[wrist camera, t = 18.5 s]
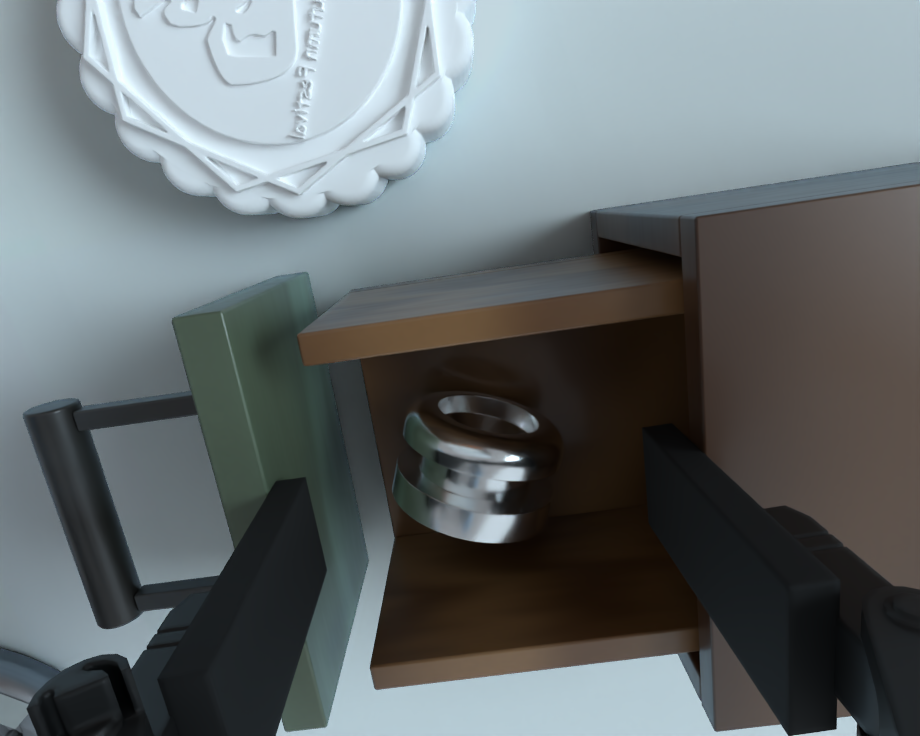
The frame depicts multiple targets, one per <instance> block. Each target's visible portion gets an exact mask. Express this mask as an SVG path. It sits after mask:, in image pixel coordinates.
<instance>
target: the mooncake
mask: <svg viewBox="0 0 920 736" xmlns="http://www.w3.org/2000/svg"><path fill="white" fill-rule="evenodd" d="M475 11H476V0H58V1H57V7H56V16H57V21H58V25H59V28H60V30H61V32H62V34H63V36H64V38H65V39H66V40H67V42H68V43H69V44H70V45H71V46H72V47H73V48H74V49H75V50H76V51H78V52H79V53H80V54H82V56H81V59H80V64H79V75H80V80H81V84H82V86H83V89H84V91H85V92H86V94H87V95H88V97H89V98H90V99H91V101H92V102H93V103H94V104H95V105H97V106H98V107H99V108H100V109H102V110H104V111H106V112H108V113H110V114H113V115H115V126H116V130H117V133H118V135H119V138H120V140H121V141H122V143H123V144H124V145H125V147H126V148H127V149H128V150H129V151H130V152H131V153H133V154H134V155H135V156H137V157H139V158H141V159H143V160H146V161H150V162H155V163H161V166H162V169H163V171H164V173H165V175H166V177H167V178H168V180H169V181H170V182H171V183H172V184H173V185H174V186H175V187H176V188H178V189H179V190H181V191H182V192H184V193H187V194H190V195H193V196H211V197H217V198H218V200H219V201H220V202H221V203H222V204H223V205H224V206H225V207H226V208H228V209H229V210H231V211H233V212H235V213H238V214H242V215H262V214H277V213H281V214H283V215H285V216H288V217H292V218H310V217H320V216H325V215H327V214H330V213H331V212H333V211H334V210H335V209H337V208H338V206H339V205H365V204H368V203H371V202H373V201H375V200H376V199H377V198H379V197H380V196H381V194H382V193H383V192H384V190H385V188H386V185H387V182H388V180H389V179H390V180H402V179H405V178H408V177H410V176H412V175H413V174H414V173H416V172H417V170H418V169H419V168H420V167H421V165H422V163H423V161H424V159H425V154H426V143H430V142H434V141H436V140H438V139H440V138H441V137H443V136H444V135H445V134H446V133H447V132H448V130H449V129H450V127H451V125H452V123H453V120H454V116H455V95H454V93H456V92H458V91H459V90H460V89H461V88H462V87H463V86H464V85H465V84H466V82H467V80H468V78H469V76H470V73H471V70H472V62H473V52H474V36H473V31H472V28H471V26H472V24H473V21H474V18H475Z"/></svg>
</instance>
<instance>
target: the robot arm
mask: <svg viewBox="0 0 920 736" xmlns="http://www.w3.org/2000/svg"><path fill="white" fill-rule="evenodd" d="M642 435H643V450H644V464H645V479H646V494H647V508H648V523H649V525H650V526H651V528H652V529H653V531H654V532H655V534H656V536H657V537H658V539H659V540H660V542H661V543H662V545H663V546H664V548H665V549H666V551H667V552H668V554H669V555H670V557H671V558H672V560H673V561H674V563H675V564H676V566H677V567H678V569H679V570H680V572H681V573H682V575H683V576H684V578H685V579H686V581H687V583H688V584H689V586H690V587H691V589H692V590H693V592H694V593H695V595H696V596H697V598H698V599H699V601H700V602H701V604H702V605H703V607H704V608H705V610H706V611H707V613H708V614H709V616H710V617H711V619H712V620H713V622H714V623H715V625H716V627H717V628H718V630H719V631H720V633H721V634H722V636H723V637H724V639H725V640H726V642H727V643H728V645H729V646H730V648H731V649H732V651H733V652H734V654H735V655H736V657H737V658H738V660H739V661H740V663H741V664H742V666H743V667H744V669H745V670H746V672H747V674H748V675H749V677H750V678H751V680H752V681H753V683H754V684H755V686H756V687H757V689H758V690H759V692H760V693H761V695H762V696H763V698H764V699H765V701H766V702H767V704H768V705H769V707H770V708H771V710H772V711H773V713H774V714H775V716H776V717H777V719H778V721H779V722H780V724H781V725H782V727H783V728H784V730H785V731H786V733H787V734H788V736H793V735H800V734H806V733H813V732H820V731H827V730H834V729H836V726H837V698H838V700H839V701H840V702H841V703H842V705H843V706H844V707H845V708H846V710H847V711H848V712H849V713H850V714H851V716H852V717H853V718H854V719H855V721H856V722H857V736H920V589H915V588H910V587H905V586H893V585H892V584H891V583H890V582H889V581H887V580H886V579H885V578H884V577H883V576H881V575H880V574H879V573H878V572H877V571H875V570H874V569H873V568H872V567H871V566H869V565H868V564H867V563H866V562H865V561H863V560H862V559H861V558H860V557H859V556H857V555H856V554H855V553H854V552H853V551H851V550H850V549H849V548H848V547H844V546H843V543H842V542H841V541H839V540H838V539H837V538H836V537H835V536H833V535H832V534H829V533H828V531H827V530H826V529H825V528H824V527H823V526H821V525H820V524H819V523H818V522H817V521H815V520H814V519H813V518H812V517H811V516H808V515H806V514H804V513H802V512H799V511H797V510H795V509H793V508H790V507H788V506H786V505H784V506H777V507H771V508H764V509H763V508H762V507H761V506H760V505H759V504H758V503H757V502H756V501H755V500H754V499H753V498H752V497H751V496H750V495H748V494H747V493H746V492H745V491H744V490H743V489H742V488H741V487H740V486H739V485H738V484H737V483H736V482H735V481H733V480H732V479H731V478H730V477H729V476H728V475H727V474H726V473H725V472H724V471H723V470H722V469H721V468H719V467H718V466H717V465H716V464H715V463H714V462H713V461H712V460H711V459H710V458H709V457H708V456H707V455H706V454H704V453H703V452H702V451H701V450H700V449H699V448H698V447H697V446H696V445H695V444H694V443H693V442H692V441H691V440H689V439H688V438H687V437H686V436H685V435H684V434H683V433H682V432H681V431H680V430H679V429H678V428H677V427H675V426H674V425H673V424H672V423H669V424H662V425H655V426H649V427H642ZM326 573H327V567H326V563H325V558H324V554H323V550H322V545H321V541H320V537H319V532H318V528H317V524H316V520H315V515H314V511H313V507H312V502H311V498H310V494H309V489H308V485H307V481H306V477H301V478H295V479H288V480H281V481H276V482H275V484H274V485H273V487H272V489H271V490H270V492H269V494H268V495H267V497H266V499H265V500H264V502H263V504H262V505H261V507H260V509H259V510H258V512H257V514H256V515H255V517H254V519H253V520H252V522H251V524H250V525H249V527H248V529H247V530H246V532H245V534H244V535H243V537H242V539H241V540H240V542H239V544H238V545H237V547H236V549H235V550H234V552H233V554H232V555H231V557H230V559H229V560H228V562H227V564H226V565H225V567H224V569H223V570H222V572H221V574H220V575H219V577H218V579H217V580H216V582H215V584H214V585H213V587H212V589H211V590H210V591H206V592H199V593H193V594H190V595H189V596H188V597H187V598H185V599H184V600H183V601H182V602H181V603H180V604H178V605H177V606H176V607H175V608H174V609H173V610H171V611H170V612H169V614H168V615H167V617H166V618H165V620H164V621H163V623H162V624H161V626H160V627H159V629H158V630H157V634H155V635H154V636H153V638H152V639H151V641H150V642H149V644H148V645H147V650H144V651H143V653H142V654H141V656H140V657H139V659H138V660H137V662H136V663H135V665H134V666H133V668H132V669H130V666H129V663H128V660H127V658H125V657H123V656H120V655H118V654H107V655H99V656H96V657H92V658H89V659H86V660H83V661H81V662H79V663H77V664H75V665H73V666H71V667H69V668H66V669H65V670H63V671H62V672H59V671H58V670H56V669H54V668H52V667H50V666H48V665H46V664H44V663H42V662H39V661H37V660H35V659H32V658H30V657H27V656H25V655H22V654H19V653H16V652H12V651H9V650H6V649H2V648H0V736H276V733H277V729H278V726H279V723H280V720H281V717H282V713H283V710H284V707H285V704H286V701H287V697H288V694H289V691H290V688H291V685H292V681H293V678H294V675H295V672H296V669H297V665H298V662H299V659H300V656H301V653H302V649H303V646H304V643H305V640H306V637H307V633H308V630H309V627H310V624H311V621H312V618H313V614H314V611H315V608H316V605H317V602H318V598H319V595H320V592H321V589H322V586H323V582H324V579H325V576H326Z"/></svg>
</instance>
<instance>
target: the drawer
mask: <svg viewBox="0 0 920 736" xmlns="http://www.w3.org/2000/svg"><path fill="white" fill-rule="evenodd" d="M172 324H173V328H174V331H175V335H176V339H177V342H178V346H179V350H180V353H181V357H182V360H183V364H184V368H185V371H186V375H187V378H188V382H189V386H190V389H191V391H187V392H180V393H173V394H166V395H159V396H152V397H145V398H137V399H130V400H123V401H116V402H109V403H102V404H95V405H88V406H84V407H82V405H81V402H80V401H79V399H76V398H68V399H61V400H56V401H52V402H48V403H44V404H41V405H38V406H35V407H33V408H31V409H29V410H27V411H25V412H24V413H23V419H24V422H25V424H26V427H27V430H28V433H29V435H30V438H31V441H32V444H33V447H34V449H35V452H36V455H37V458H38V461H39V463H40V466H41V469H42V472H43V474H44V477H45V480H46V483H47V486H48V488H49V491H50V494H51V497H52V499H53V502H54V505H55V508H56V511H57V513H58V516H59V519H60V522H61V525H62V527H63V530H64V533H65V536H66V538H67V541H68V544H69V547H70V550H71V552H72V555H73V558H74V561H75V563H76V566H77V569H78V572H79V575H80V577H81V580H82V583H83V586H84V589H85V591H86V594H87V597H88V600H89V602H90V605H91V608H92V611H93V614H94V616H95V619H96V622H97V624H98V626H99V627H101V628H103V629H113V628H117V627H120V626H123V625H125V624H128V623H130V622H131V621H133V620H135V619H136V618H137V617H139V616H140V615H141V614H142V613H143V612H144V611H150V610H158V609H166V608H174V607H176V606H177V605H178V604H180V603H181V602H182V601H183V600H184V599H185V598H187V597H188V596H189V595H190V594H193V593H199V592H206V591H210V590H211V589H212V587H213V585H214V584H215V582H216V580H217V579H218V577H219V576H211V577H204V578H196V579H188V580H180V581H172V582H165V583H157V584H149V585H144V586H142V587H141V584H140V581H139V578H138V575H137V572H136V569H135V566H134V563H133V559H132V556H131V553H130V550H129V547H128V544H127V541H126V538H125V535H124V532H123V529H122V526H121V523H120V520H119V517H118V514H117V511H116V508H115V505H114V502H113V499H112V496H111V493H110V490H109V487H108V484H107V481H106V478H105V475H104V472H103V468H102V465H101V462H100V459H99V456H98V453H97V450H96V447H95V444H94V441H93V438H92V435H91V432H90V430H93V429H100V428H107V427H114V426H122V425H129V424H136V423H143V422H150V421H158V420H165V419H172V418H179V417H186V416H194V415H198V418H199V422H200V425H201V429H202V433H203V436H204V440H205V444H206V447H207V451H208V454H209V458H210V462H211V465H212V469H213V472H214V476H215V480H216V483H217V487H218V491H219V494H220V498H221V501H222V505H223V509H224V512H225V516H226V519H227V523H228V527H229V530H230V534H231V538H232V541H233V545H234V548H235V549H236V547H237V545H238V544H239V542H240V540H241V539H242V537H243V535H244V534H245V532H246V530H247V529H248V527H249V525H250V524H251V522H252V520H253V519H254V517H255V515H256V514H257V512H258V510H259V509H260V507H261V505H262V504H263V502H264V500H265V499H266V497H267V495H268V494H269V492H270V490H271V489H272V487H273V485H274V484H275V482H276V481H281V480H288V479H295V478H301V477H306V481H307V485H308V489H309V494H310V498H311V502H312V507H313V511H314V515H315V520H316V524H317V528H318V532H319V537H320V541H321V545H322V550H323V554H324V558H325V563H326V567H327V573H326V576H325V579H324V582H323V586H322V589H321V592H320V595H319V598H318V602H317V605H316V608H315V611H314V614H313V618H312V621H311V624H310V627H309V630H308V633H307V637H306V640H305V643H304V646H303V649H302V653H301V656H300V659H299V662H298V665H297V669H296V672H295V675H294V678H293V681H292V685H291V688H290V691H289V694H288V697H287V701H286V704H285V707H284V710H283V713H282V717H281V718H282V722H283V726H284V729H285V731H286V732H291V731H300V730H308V729H316V728H325V727H326V726H327V724H328V720H329V716H330V712H331V708H332V704H333V700H334V696H335V692H336V688H337V684H338V680H339V677H340V673H341V669H342V665H343V661H344V657H345V653H346V649H347V645H348V641H349V637H350V633H351V629H352V625H353V621H354V617H355V613H356V609H357V605H358V601H359V597H360V593H361V589H362V585H363V581H364V577H365V573H366V570H367V566H368V562H369V559H368V554H367V549H366V545H365V540H364V535H363V530H362V526H361V521H360V516H359V511H358V507H357V502H356V497H355V492H354V488H353V483H352V478H351V473H350V469H349V464H348V459H347V454H346V450H345V445H344V440H343V435H342V431H341V426H340V421H339V416H338V411H337V407H336V402H335V397H334V392H333V388H332V383H331V378H330V373H329V369H328V363H335V362H343V361H350V360H357V359H360V362H361V367H362V372H363V377H364V383H365V388H366V393H367V398H368V403H369V408H370V413H371V419H372V424H373V429H374V434H375V439H376V444H377V449H378V454H379V460H380V465H381V470H382V475H383V480H384V485H385V490H386V495H387V501H388V506H389V511H390V516H391V521H392V526H393V531H394V537H395V539H394V544H393V549H392V555H391V560H390V565H389V570H388V575H387V581H386V586H385V591H384V596H383V602H382V607H381V612H380V617H379V622H378V628H377V633H376V638H375V643H374V648H373V654H372V659H371V664H370V670H371V675H372V679H373V684H374V688H375V689H376V690H379V689H387V688H396V687H404V686H412V685H421V684H429V683H437V682H446V681H454V680H462V679H471V678H479V677H487V676H495V675H504V674H512V673H520V672H529V671H537V670H545V669H554V668H562V667H570V666H579V665H587V664H595V663H603V662H612V661H620V660H628V659H637V658H645V657H653V656H662V655H670V654H678V653H687V652H695V651H699V630H698V608H697V596H696V595H695V593H694V592H693V590H692V589H691V587H690V586H689V584H688V583H687V581H686V579H685V578H684V576H683V575H682V573H681V572H680V570H679V569H678V567H677V566H676V564H675V563H674V561H673V560H672V558H671V557H670V555H669V554H668V552H667V551H666V549H665V548H664V546H663V545H662V543H661V542H660V540H659V539H658V537H657V536H656V534H655V532H654V531H653V529H652V528H651V526H650V525H649V523H648V508H647V494H646V479H645V464H644V450H643V435H642V427H649V426H655V425H662V424H669V423H672V424H673V425H674V426H675V427H677V428H678V429H679V430H680V431H681V432H682V433H683V434H684V435H685V436H686V437H687V438H688V439H689V440H690V430H689V407H688V385H687V363H686V341H685V318H684V296H683V274H682V257H679V256H675V255H671V254H666V253H662V252H658V251H654V250H650V249H646V248H636V249H629V250H622V251H615V252H608V253H602V254H595V255H588V256H581V257H574V258H567V259H560V260H553V261H546V262H540V263H533V264H526V265H519V266H512V267H505V268H498V269H491V270H484V271H478V272H471V273H464V274H457V275H450V276H443V277H436V278H429V279H422V280H416V281H409V282H402V283H395V284H388V285H381V286H374V287H367V288H360V289H354V290H351V291H350V292H349V293H348V294H347V295H345V296H344V297H343V298H342V299H340V300H339V301H338V302H337V303H336V304H334V305H333V306H332V307H331V308H329V309H328V310H327V311H326V312H324V313H323V314H322V315H321V316H319V317H318V316H317V312H316V307H315V302H314V297H313V293H312V288H311V283H310V278H309V274H308V272H302V273H295V274H288V275H281V276H276V277H273V278H271V279H268V280H266V281H263V282H261V283H258V284H256V285H253V286H251V287H248V288H246V289H243V290H241V291H238V292H236V293H233V294H231V295H228V296H226V297H223V298H221V299H218V300H216V301H213V302H211V303H208V304H206V305H203V306H201V307H198V308H196V309H193V310H191V311H188V312H186V313H183V314H181V315H178V316H176V317H174V318H172ZM441 391H470V392H478V393H484V394H490V395H494V396H498V397H502V398H506V399H509V400H512V401H515V402H518V403H520V404H523V405H525V406H527V407H530V408H532V409H534V410H535V411H537V412H539V413H541V414H542V415H544V416H545V417H546V418H548V419H549V420H550V421H551V422H552V423H553V424H554V425H555V426H556V427H557V428H558V430H559V431H560V433H561V435H562V438H563V441H564V456H563V460H562V463H561V467H560V468H559V470H558V471H557V472H556V473H554V474H553V475H551V476H549V477H547V478H548V479H549V481H550V482H551V484H552V487H553V498H552V502H551V506H550V509H549V513H548V517H547V521H546V524H545V526H544V528H543V529H542V530H541V531H540V532H539V533H538V534H536V535H534V536H533V537H531V538H528V539H525V540H522V541H518V542H512V543H498V544H495V543H480V542H473V541H467V540H462V539H458V538H455V537H451V536H448V535H445V534H442V533H440V532H437V531H435V530H432V529H430V528H428V527H426V526H424V525H422V524H421V523H419V522H417V521H416V520H414V519H413V518H412V517H410V516H409V515H408V514H407V513H405V512H404V511H403V510H402V509H401V507H400V506H399V505H398V504H397V502H396V500H395V499H394V496H393V493H392V485H393V479H394V474H395V468H396V463H397V458H398V456H399V454H400V453H401V452H402V451H403V450H404V449H405V448H407V447H409V446H410V445H409V444H408V443H407V442H406V440H405V438H404V436H403V424H404V419H405V415H406V413H407V411H408V409H409V408H410V406H411V405H412V404H413V403H414V402H415V401H417V400H418V399H420V398H421V397H423V396H425V395H428V394H431V393H435V392H441Z"/></svg>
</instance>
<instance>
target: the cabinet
mask: <svg viewBox="0 0 920 736" xmlns="http://www.w3.org/2000/svg"><path fill="white" fill-rule="evenodd" d="M590 215H591V227H592V239H593V251H594V255H595V254H602V253H608V252H615V251H622V250H629V249H636V248H646V249H650V250H654V251H658V252H662V253H666V254H671V255H675V256H679V257H682V274H683V296H684V318H685V341H686V363H687V385H688V407H689V430H690V440H691V441H692V442H693V443H694V444H695V445H696V446H697V447H698V448H699V449H700V450H701V451H702V452H703V453H704V454H706V455H707V456H708V457H709V458H710V459H711V460H712V461H713V462H714V463H715V464H716V465H717V466H718V467H719V468H721V469H722V470H723V471H724V472H725V473H726V474H727V475H728V476H729V477H730V478H731V479H732V480H733V481H735V482H736V483H737V484H738V485H739V486H740V487H741V488H742V489H743V490H744V491H745V492H746V493H747V494H748V495H750V496H751V497H752V498H753V499H754V500H755V501H756V502H757V503H758V504H759V505H760V506H761V507H762V508H763V509H764V508H771V507H777V506H784V505H786V506H788V507H790V508H793V509H795V510H797V511H799V512H802V513H804V514H806V515H808V516H811V517H812V518H813V519H814V520H815V521H817V522H818V523H819V524H820V525H821V526H823V527H824V528H825V529H826V530H827V531H828V533H829V534H832V535H833V536H835V537H836V538H837V539H838V540H839V541H841V542H842V543H843V546H844V547H848V548H849V549H850V550H851V551H853V552H854V553H855V554H856V555H857V556H859V557H860V558H861V559H862V560H863V561H865V562H866V563H867V564H868V565H869V566H871V567H872V568H873V569H874V570H875V571H877V572H878V573H879V574H880V575H881V576H883V577H884V578H885V579H886V580H887V581H889V582H890V583H891V584H892V585H893V586H905V587H910V588H915V589H920V162H916V163H910V164H903V165H896V166H889V167H883V168H876V169H869V170H862V171H855V172H849V173H842V174H835V175H828V176H822V177H815V178H808V179H801V180H795V181H788V182H781V183H774V184H768V185H761V186H754V187H747V188H741V189H734V190H727V191H720V192H713V193H707V194H700V195H693V196H686V197H680V198H673V199H666V200H659V201H653V202H646V203H639V204H632V205H626V206H619V207H612V208H605V209H599V210H592V211H591V212H590ZM697 608H698V630H699V651H695V652H687V653H678V656H679V658H680V660H681V662H682V664H683V666H684V668H685V670H686V672H687V674H688V676H689V678H690V680H691V682H692V684H693V686H694V688H695V691H696V693H697V695H698V697H699V699H700V700H701V701H702V706H703V708H704V710H705V712H706V714H707V716H708V718H709V720H710V722H711V724H712V726H713V729H714V730H715V731H717V732H718V731H727V730H736V729H744V728H753V727H762V726H770V725H779V724H780V722H779V721H778V719H777V717H776V716H775V714H774V713H773V711H772V710H771V708H770V707H769V705H768V704H767V702H766V701H765V699H764V698H763V696H762V695H761V693H760V692H759V690H758V689H757V687H756V686H755V684H754V683H753V681H752V680H751V678H750V677H749V675H748V674H747V672H746V670H745V669H744V667H743V666H742V664H741V663H740V661H739V660H738V658H737V657H736V655H735V654H734V652H733V651H732V649H731V648H730V646H729V645H728V643H727V642H726V640H725V639H724V637H723V636H722V634H721V633H720V631H719V630H718V628H717V627H716V625H715V623H714V622H713V620H712V619H711V617H710V616H709V614H708V613H707V611H706V610H705V608H704V607H703V605H702V604H701V602H700V601H699V599H698V598H697ZM848 716H851V714H850V713H849V712H848V711H847V710H846V708H845V707H844V706H843V705H842V703H841V702H840V701H839V700H838V698H837V718H840V717H848Z"/></svg>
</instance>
